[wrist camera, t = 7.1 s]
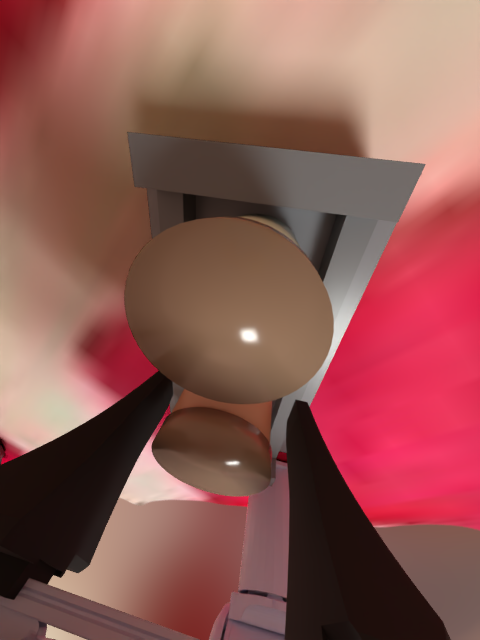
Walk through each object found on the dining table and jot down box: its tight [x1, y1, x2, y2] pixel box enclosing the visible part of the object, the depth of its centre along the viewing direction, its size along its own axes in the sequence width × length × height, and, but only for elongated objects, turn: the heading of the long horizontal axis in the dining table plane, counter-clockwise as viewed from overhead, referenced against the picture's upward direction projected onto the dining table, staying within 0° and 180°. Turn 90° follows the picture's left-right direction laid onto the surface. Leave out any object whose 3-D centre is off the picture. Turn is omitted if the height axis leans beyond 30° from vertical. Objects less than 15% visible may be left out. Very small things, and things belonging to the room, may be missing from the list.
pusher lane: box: [127, 132, 425, 486], centre depth 13 cm, size 22×12×4 cm, turn 173°
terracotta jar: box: [152, 389, 272, 496], centre depth 11 cm, size 5×5×7 cm
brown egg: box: [124, 213, 334, 404], centre depth 8 cm, size 5×5×7 cm
